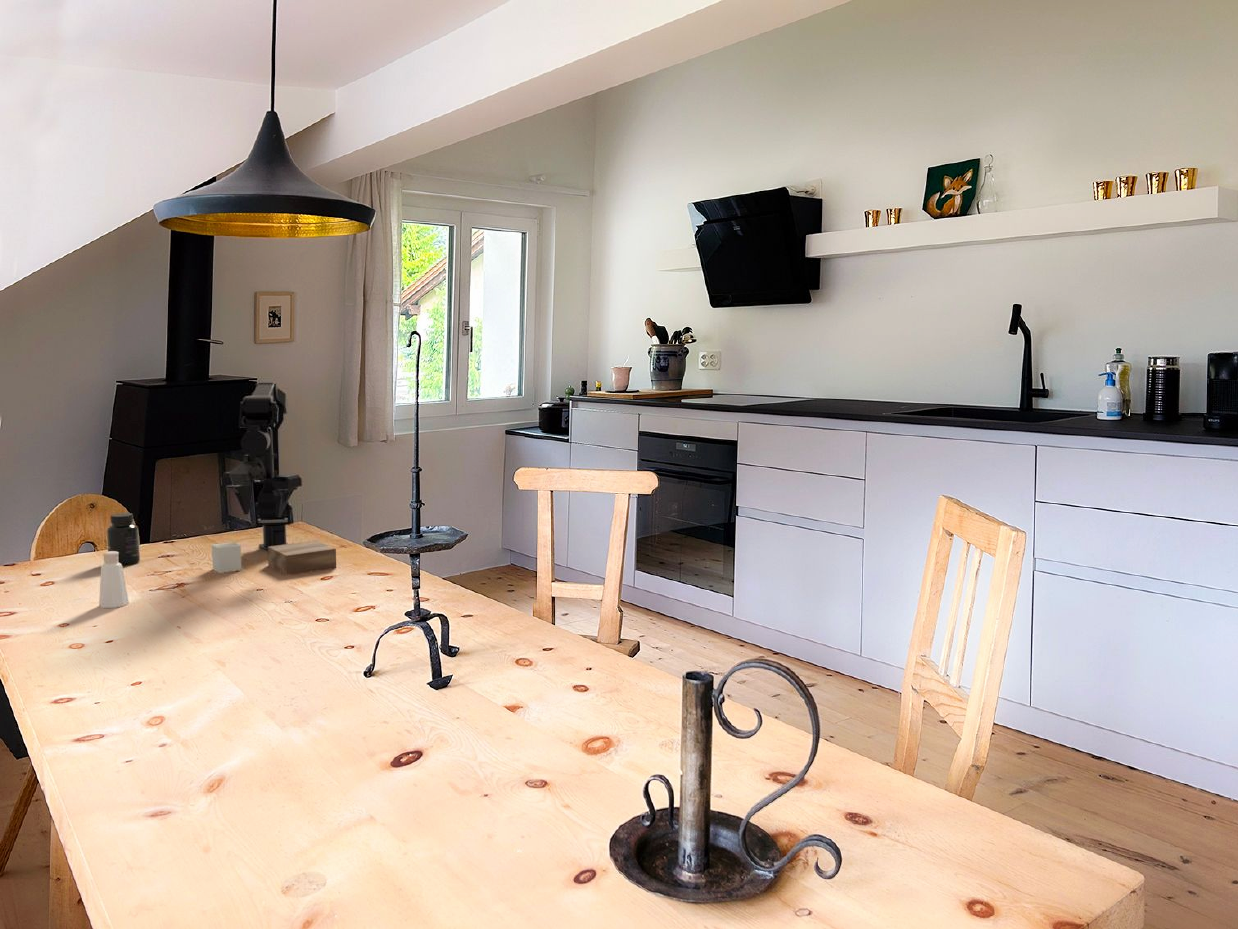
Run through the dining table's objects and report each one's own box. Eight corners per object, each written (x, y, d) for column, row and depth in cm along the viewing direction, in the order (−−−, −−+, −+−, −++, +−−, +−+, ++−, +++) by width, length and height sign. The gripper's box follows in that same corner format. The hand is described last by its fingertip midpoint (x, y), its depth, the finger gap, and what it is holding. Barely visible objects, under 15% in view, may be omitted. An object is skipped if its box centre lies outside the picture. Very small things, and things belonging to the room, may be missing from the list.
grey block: (212, 569, 225) (211, 544, 224) (234, 566, 228) (233, 542, 227) (219, 573, 221) (218, 548, 220) (241, 570, 224) (240, 545, 223)
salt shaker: (97, 609, 191) (94, 556, 189) (100, 602, 196) (97, 550, 194) (127, 606, 193) (124, 554, 191) (129, 600, 198) (126, 548, 196)
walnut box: (268, 566, 229) (267, 546, 228) (316, 560, 237) (315, 540, 236) (287, 576, 220) (286, 555, 219) (336, 569, 228) (335, 548, 227)
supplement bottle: (101, 565, 228) (98, 516, 226) (124, 559, 234) (121, 511, 233) (124, 567, 226) (121, 517, 224) (146, 561, 232) (143, 513, 231)
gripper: (202, 452, 217) (206, 519, 219) (271, 456, 212) (273, 525, 214) (235, 447, 228) (238, 510, 230) (302, 450, 222) (304, 516, 224)
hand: (262, 515), depth 224 cm, fingers open, 9 cm apart
